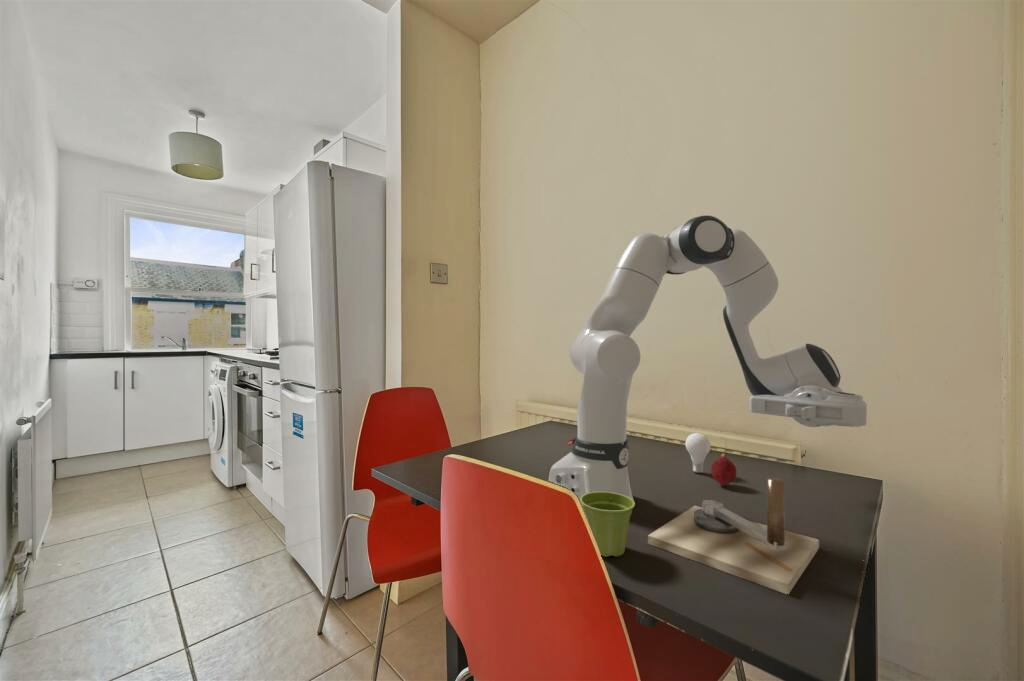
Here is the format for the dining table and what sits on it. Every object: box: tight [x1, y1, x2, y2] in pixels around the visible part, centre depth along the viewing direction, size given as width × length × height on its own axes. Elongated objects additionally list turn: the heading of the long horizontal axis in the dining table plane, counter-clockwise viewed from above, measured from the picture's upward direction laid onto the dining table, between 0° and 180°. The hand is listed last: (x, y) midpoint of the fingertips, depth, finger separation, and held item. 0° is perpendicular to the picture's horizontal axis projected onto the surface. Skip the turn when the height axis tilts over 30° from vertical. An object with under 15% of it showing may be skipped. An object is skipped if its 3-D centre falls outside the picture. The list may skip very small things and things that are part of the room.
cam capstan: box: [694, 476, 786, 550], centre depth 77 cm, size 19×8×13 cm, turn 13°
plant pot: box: [580, 492, 636, 558], centre depth 76 cm, size 9×9×9 cm
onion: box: [710, 453, 738, 487], centre depth 109 cm, size 6×6×8 cm
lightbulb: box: [684, 432, 711, 474], centre depth 120 cm, size 6×6×11 cm
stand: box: [647, 505, 820, 595], centre depth 77 cm, size 22×20×2 cm
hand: (795, 412), depth 85 cm, fingers closed
